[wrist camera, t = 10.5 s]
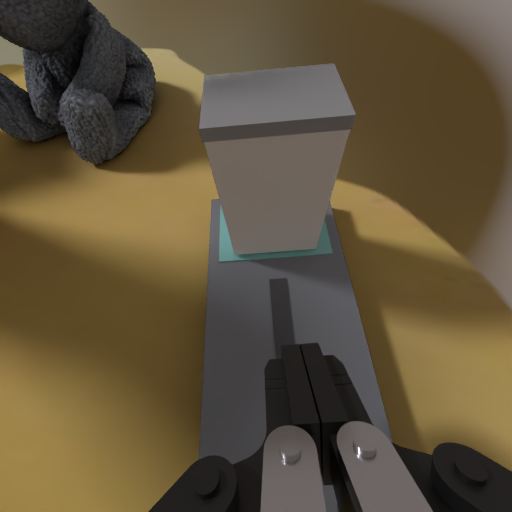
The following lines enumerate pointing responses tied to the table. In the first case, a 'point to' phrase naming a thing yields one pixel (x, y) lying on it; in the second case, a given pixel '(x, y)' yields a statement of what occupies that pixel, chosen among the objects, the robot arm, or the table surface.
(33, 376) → the table surface
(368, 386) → the board
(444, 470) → the robot arm
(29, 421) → the table surface
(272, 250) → the slider tab
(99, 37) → the koala plush
